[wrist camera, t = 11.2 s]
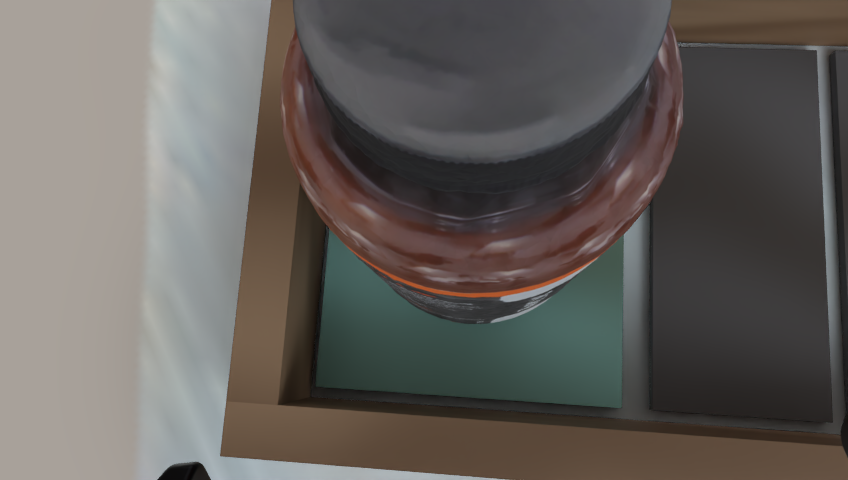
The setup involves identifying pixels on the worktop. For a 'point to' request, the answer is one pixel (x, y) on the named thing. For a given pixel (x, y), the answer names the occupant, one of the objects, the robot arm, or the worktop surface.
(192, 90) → the worktop surface
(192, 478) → the robot arm
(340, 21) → the supplement bottle
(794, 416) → the wooden serving tray
